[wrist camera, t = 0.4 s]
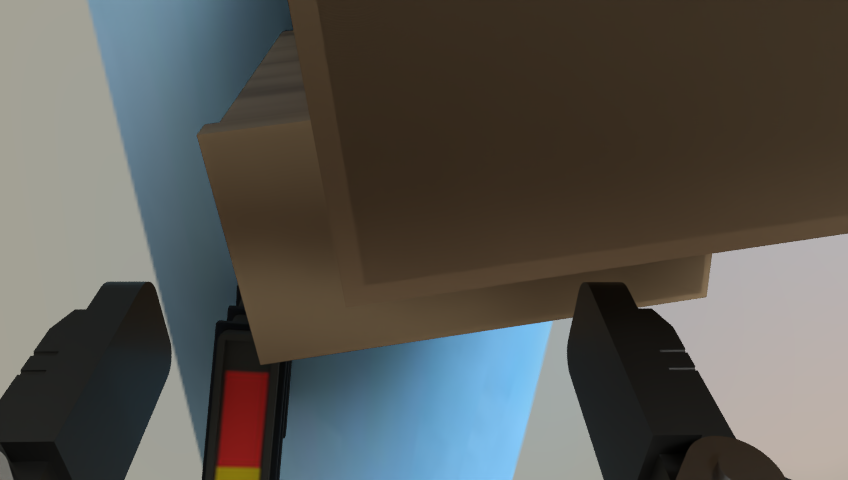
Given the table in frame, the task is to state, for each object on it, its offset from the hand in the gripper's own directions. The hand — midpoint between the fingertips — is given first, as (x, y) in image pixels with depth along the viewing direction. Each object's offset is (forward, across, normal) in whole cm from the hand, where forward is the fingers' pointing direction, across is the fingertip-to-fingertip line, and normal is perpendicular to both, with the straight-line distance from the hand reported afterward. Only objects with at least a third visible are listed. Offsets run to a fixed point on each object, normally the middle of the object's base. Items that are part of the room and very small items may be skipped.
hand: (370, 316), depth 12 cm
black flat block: (+24, +8, +22) cm, 33 cm away
